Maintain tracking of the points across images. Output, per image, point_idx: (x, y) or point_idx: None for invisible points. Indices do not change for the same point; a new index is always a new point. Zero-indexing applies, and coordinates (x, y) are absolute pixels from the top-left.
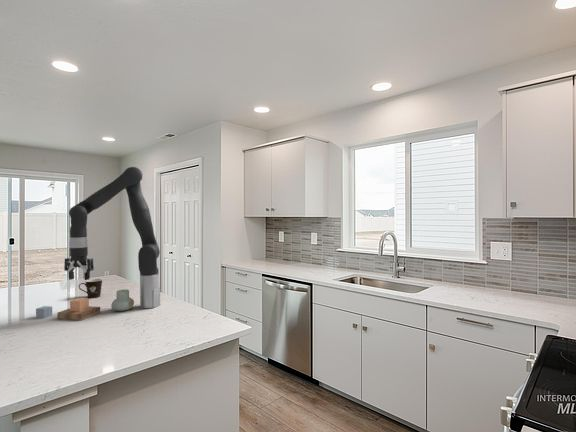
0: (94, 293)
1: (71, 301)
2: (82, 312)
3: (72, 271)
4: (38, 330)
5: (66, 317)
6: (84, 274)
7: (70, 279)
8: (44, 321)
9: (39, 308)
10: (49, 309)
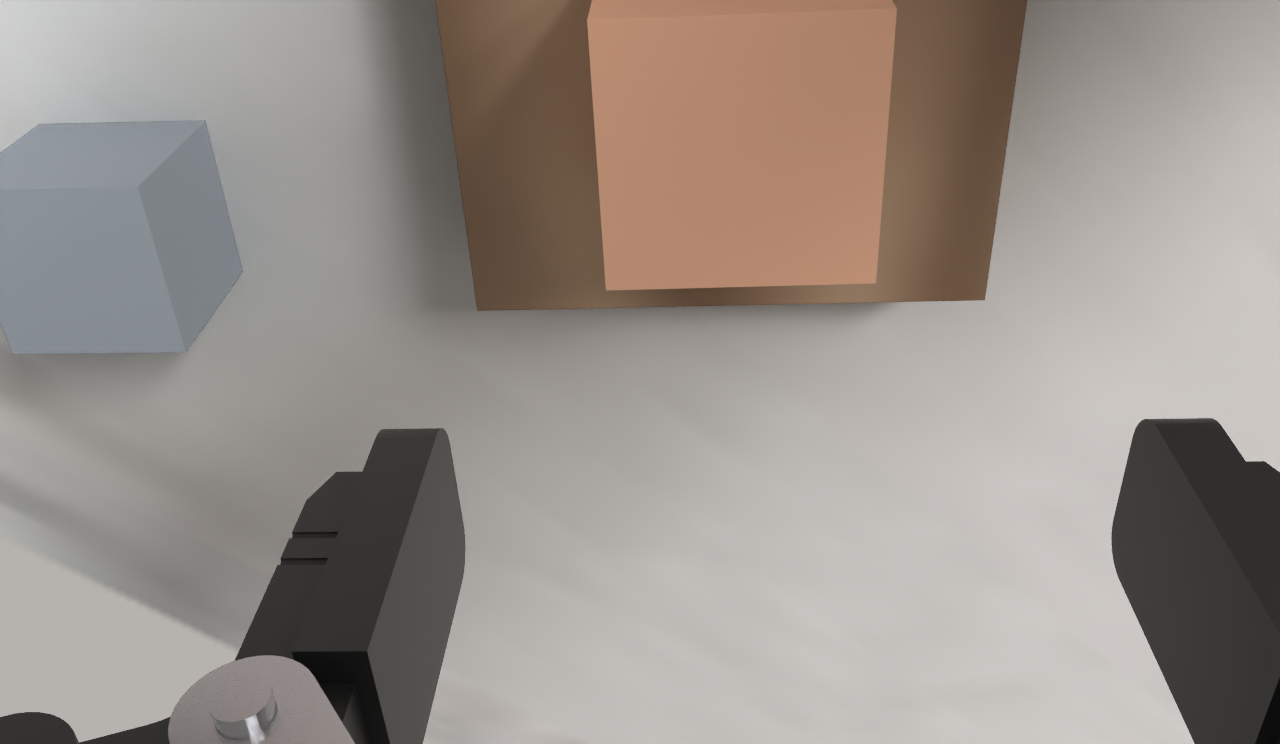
0: None
1: (648, 280)
2: (936, 217)
3: (360, 717)
4: (686, 624)
5: None
6: (1199, 739)
7: (458, 554)
8: (412, 378)
9: (57, 332)
10: (169, 225)
